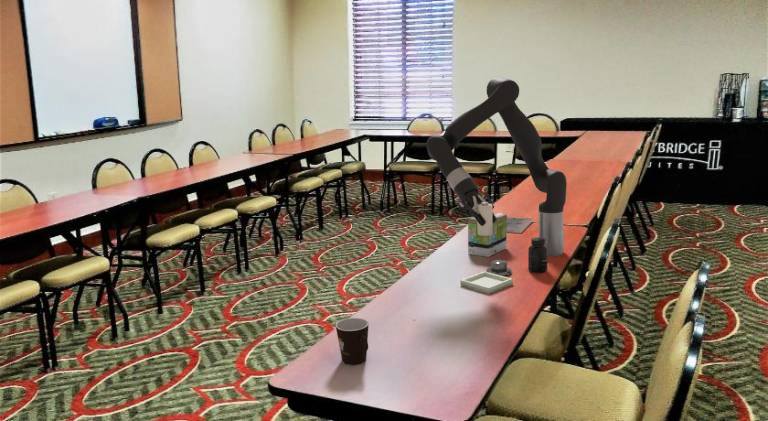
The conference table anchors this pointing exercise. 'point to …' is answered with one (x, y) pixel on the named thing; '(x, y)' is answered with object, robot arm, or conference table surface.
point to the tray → (486, 282)
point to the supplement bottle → (537, 256)
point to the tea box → (487, 237)
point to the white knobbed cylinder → (486, 213)
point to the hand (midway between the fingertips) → (489, 222)
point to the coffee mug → (353, 340)
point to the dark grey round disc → (499, 268)
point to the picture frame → (517, 224)
